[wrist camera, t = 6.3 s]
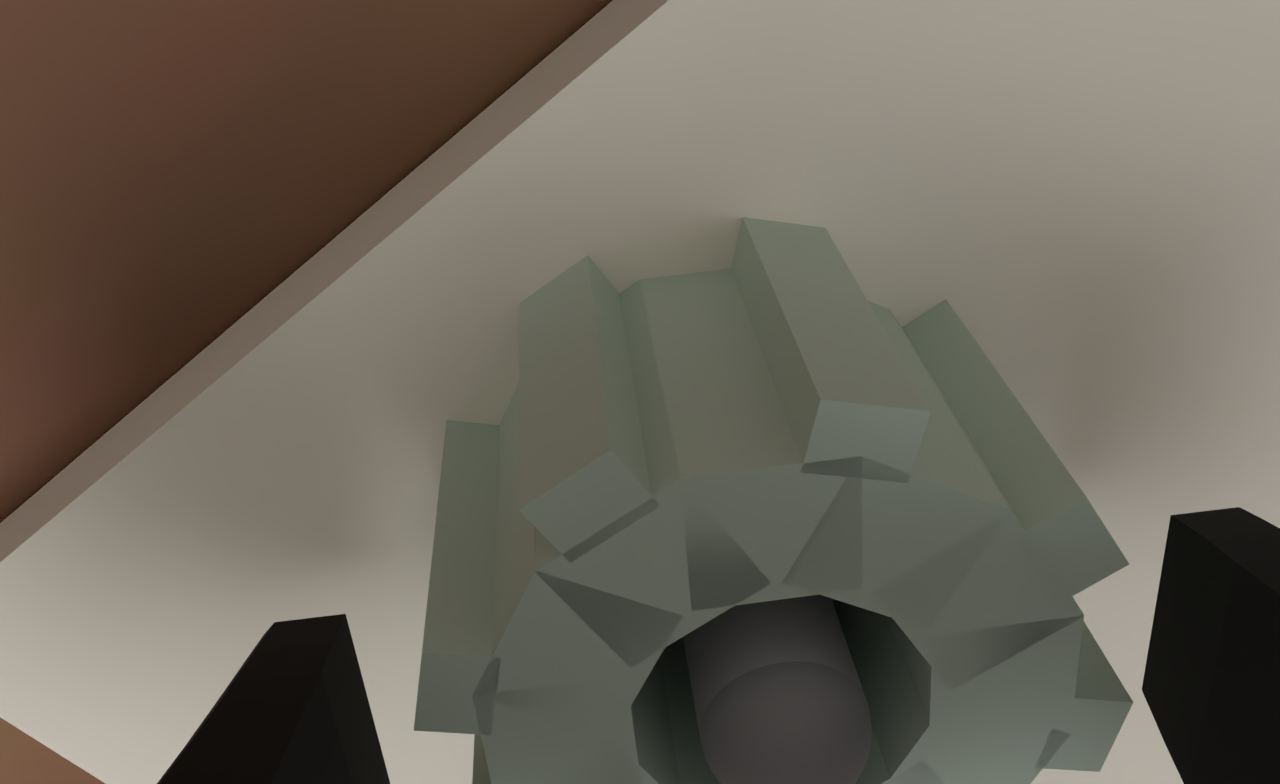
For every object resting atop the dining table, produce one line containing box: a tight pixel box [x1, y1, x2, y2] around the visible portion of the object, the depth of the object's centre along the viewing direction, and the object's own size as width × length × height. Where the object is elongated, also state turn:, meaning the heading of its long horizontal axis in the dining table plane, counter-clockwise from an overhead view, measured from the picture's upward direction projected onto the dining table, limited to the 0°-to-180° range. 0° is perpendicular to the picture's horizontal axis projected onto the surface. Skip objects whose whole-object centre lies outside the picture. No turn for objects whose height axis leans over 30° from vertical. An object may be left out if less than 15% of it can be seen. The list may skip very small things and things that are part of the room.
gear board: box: [0, 0, 1280, 784], centre depth 13 cm, size 14×17×6 cm
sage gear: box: [414, 217, 1133, 784], centre depth 11 cm, size 6×6×3 cm
